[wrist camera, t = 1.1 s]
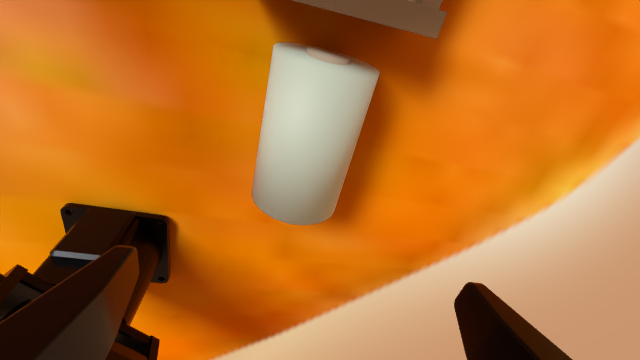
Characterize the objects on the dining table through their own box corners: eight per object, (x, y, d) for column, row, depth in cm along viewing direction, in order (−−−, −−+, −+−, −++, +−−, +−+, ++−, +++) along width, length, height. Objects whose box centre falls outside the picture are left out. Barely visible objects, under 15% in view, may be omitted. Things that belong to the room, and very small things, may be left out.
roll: (330, 182, 21) (339, 233, 17) (255, 170, 20) (246, 221, 16) (368, 54, 17) (394, 80, 13) (276, 32, 16) (271, 52, 12)
